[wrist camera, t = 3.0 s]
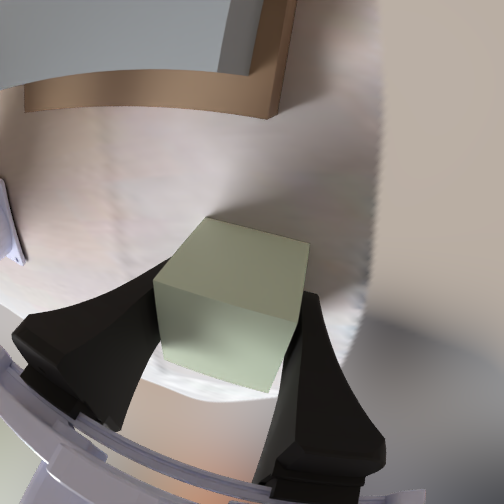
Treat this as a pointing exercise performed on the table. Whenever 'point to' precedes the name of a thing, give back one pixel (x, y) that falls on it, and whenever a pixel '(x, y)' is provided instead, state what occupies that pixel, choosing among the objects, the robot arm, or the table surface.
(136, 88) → the walnut slab
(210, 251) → the sage cube
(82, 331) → the robot arm
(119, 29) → the slate slab
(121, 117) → the table surface
